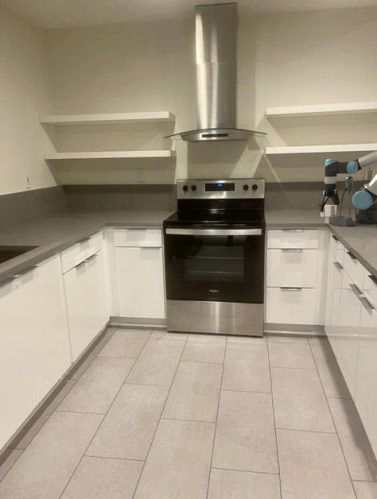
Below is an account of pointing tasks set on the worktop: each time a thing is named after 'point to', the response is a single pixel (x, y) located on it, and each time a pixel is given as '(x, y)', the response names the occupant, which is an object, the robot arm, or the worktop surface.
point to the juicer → (348, 188)
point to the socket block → (341, 220)
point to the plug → (329, 213)
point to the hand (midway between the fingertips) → (328, 215)
